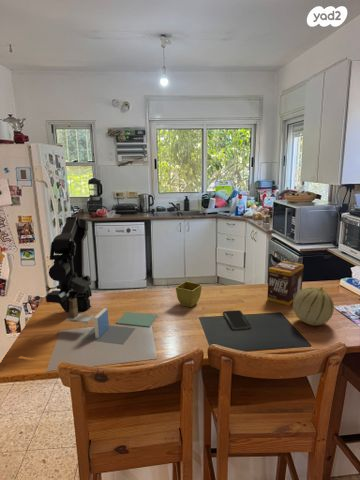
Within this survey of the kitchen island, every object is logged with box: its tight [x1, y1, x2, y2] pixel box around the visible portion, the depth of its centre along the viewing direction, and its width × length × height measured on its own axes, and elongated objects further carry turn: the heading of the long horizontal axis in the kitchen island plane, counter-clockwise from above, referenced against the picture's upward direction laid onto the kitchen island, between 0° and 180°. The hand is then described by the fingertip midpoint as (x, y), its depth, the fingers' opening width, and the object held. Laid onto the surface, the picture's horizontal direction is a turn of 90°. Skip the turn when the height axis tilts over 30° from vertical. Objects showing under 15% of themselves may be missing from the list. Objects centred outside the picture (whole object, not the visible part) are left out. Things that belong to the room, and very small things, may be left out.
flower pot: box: [175, 281, 203, 308], centre depth 150 cm, size 9×9×9 cm
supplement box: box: [267, 260, 305, 306], centre depth 155 cm, size 10×15×16 cm
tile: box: [93, 307, 110, 338], centre depth 125 cm, size 2×8×8 cm, turn 166°
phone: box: [222, 309, 252, 331], centre depth 135 cm, size 8×1×15 cm
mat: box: [81, 324, 137, 345], centre depth 125 cm, size 16×12×1 cm
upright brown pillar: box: [65, 298, 95, 324], centre depth 126 cm, size 9×5×8 cm, turn 76°
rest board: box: [115, 311, 158, 328], centre depth 136 cm, size 14×10×1 cm
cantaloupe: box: [292, 286, 335, 326], centre depth 130 cm, size 15×15×15 cm
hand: (69, 310), depth 127 cm, fingers closed on upright brown pillar, 3 cm apart
